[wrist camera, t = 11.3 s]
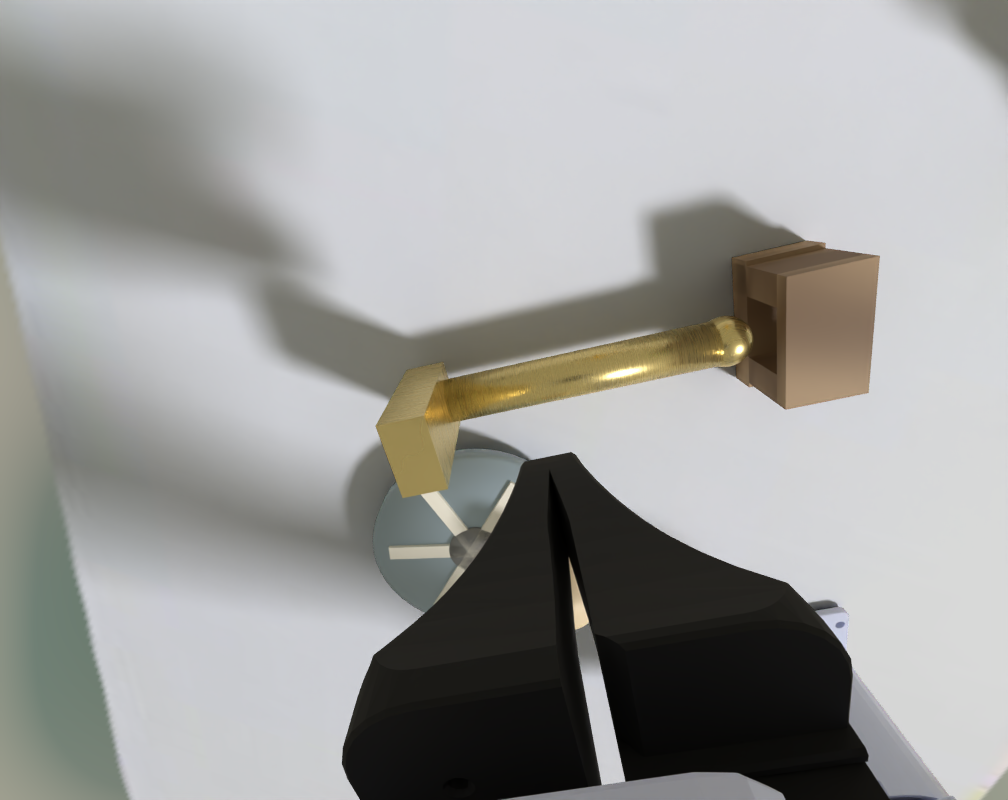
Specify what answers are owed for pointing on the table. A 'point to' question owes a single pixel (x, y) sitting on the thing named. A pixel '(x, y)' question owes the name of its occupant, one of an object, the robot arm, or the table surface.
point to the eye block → (806, 321)
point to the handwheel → (447, 528)
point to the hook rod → (535, 391)
